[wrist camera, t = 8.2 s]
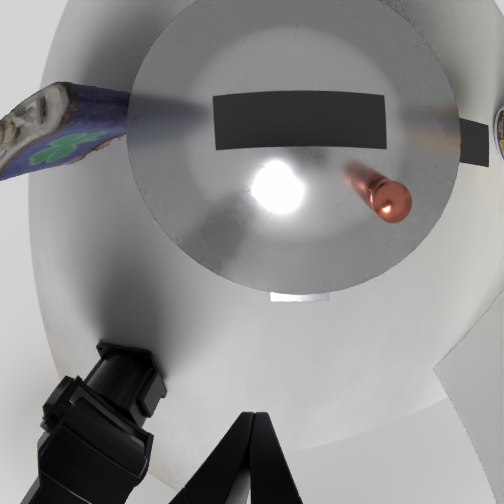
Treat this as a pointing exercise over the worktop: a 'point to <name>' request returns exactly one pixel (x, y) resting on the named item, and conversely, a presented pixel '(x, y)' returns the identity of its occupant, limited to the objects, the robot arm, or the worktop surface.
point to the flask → (60, 127)
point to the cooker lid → (293, 140)
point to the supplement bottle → (499, 132)
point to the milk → (480, 390)
